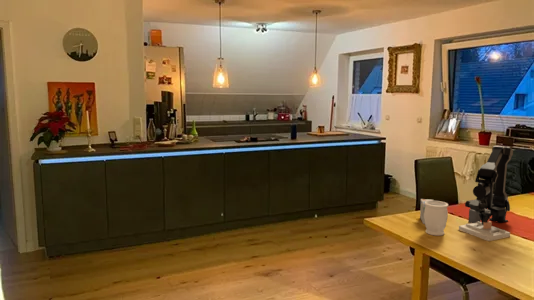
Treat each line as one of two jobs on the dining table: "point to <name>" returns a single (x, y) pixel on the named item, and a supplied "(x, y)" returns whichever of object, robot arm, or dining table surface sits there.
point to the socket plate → (483, 232)
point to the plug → (473, 216)
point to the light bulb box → (423, 209)
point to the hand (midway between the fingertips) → (483, 224)
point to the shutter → (488, 227)
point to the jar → (435, 217)
